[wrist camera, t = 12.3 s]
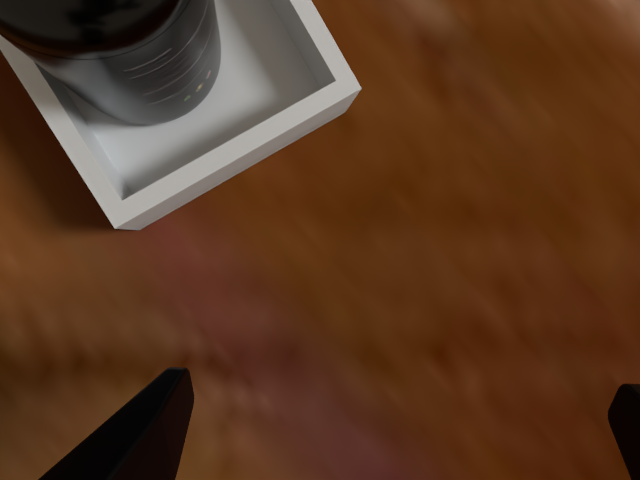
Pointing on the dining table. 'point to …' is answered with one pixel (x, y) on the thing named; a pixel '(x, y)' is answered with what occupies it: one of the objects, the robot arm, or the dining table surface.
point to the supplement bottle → (122, 51)
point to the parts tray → (203, 112)
